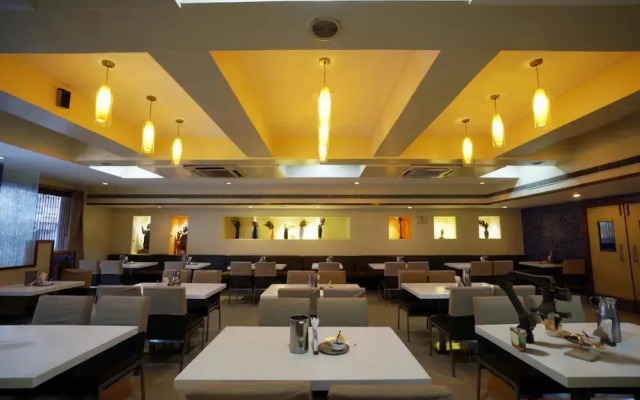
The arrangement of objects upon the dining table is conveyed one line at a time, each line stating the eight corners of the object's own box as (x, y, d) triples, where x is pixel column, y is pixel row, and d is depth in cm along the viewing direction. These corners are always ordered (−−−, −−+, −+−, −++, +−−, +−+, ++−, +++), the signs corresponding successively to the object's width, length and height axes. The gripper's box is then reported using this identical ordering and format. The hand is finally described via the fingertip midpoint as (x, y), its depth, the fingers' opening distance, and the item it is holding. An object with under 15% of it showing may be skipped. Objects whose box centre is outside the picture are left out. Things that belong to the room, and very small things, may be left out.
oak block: (545, 329, 172) (544, 319, 172) (549, 328, 174) (548, 318, 174) (554, 331, 168) (553, 321, 168) (558, 330, 170) (557, 320, 170)
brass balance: (555, 343, 178) (554, 329, 179) (560, 341, 181) (559, 328, 182) (603, 355, 159) (601, 339, 160) (608, 353, 162) (606, 338, 163)
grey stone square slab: (563, 354, 160) (563, 352, 161) (574, 351, 166) (574, 348, 166) (589, 362, 151) (589, 359, 151) (600, 357, 156) (599, 355, 156)
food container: (533, 353, 163) (531, 333, 164) (520, 352, 164) (518, 333, 165) (522, 345, 175) (521, 327, 176) (510, 345, 176) (509, 326, 177)
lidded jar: (566, 336, 192) (564, 320, 193) (559, 339, 186) (557, 323, 187) (546, 331, 201) (544, 317, 202) (539, 334, 195) (537, 319, 196)
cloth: (361, 347, 175) (361, 335, 176) (330, 350, 170) (330, 338, 170) (347, 335, 196) (347, 325, 197) (319, 338, 191) (319, 328, 192)
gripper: (523, 297, 177) (525, 325, 175) (560, 303, 161) (563, 334, 159) (533, 296, 183) (536, 323, 180) (571, 301, 166) (574, 331, 164)
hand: (551, 328), depth 171 cm, fingers closed on oak block, 4 cm apart
